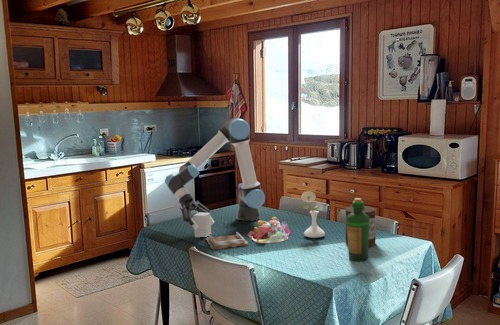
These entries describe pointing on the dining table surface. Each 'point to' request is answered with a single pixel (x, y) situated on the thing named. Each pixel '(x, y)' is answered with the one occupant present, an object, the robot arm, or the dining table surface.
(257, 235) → the candy landscape model
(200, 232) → the supplement box
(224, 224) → the dining table surface
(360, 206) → the bottle
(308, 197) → the flower in vase
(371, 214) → the wooden container
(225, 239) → the board
